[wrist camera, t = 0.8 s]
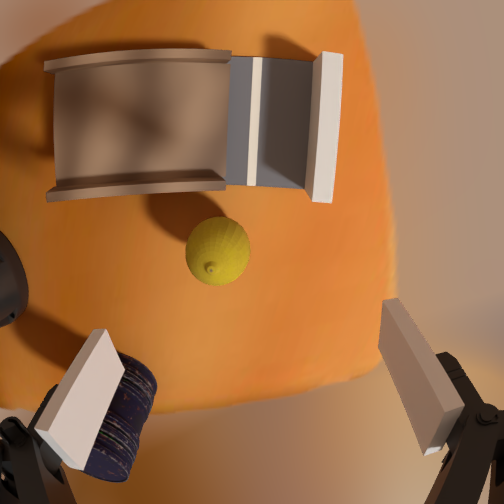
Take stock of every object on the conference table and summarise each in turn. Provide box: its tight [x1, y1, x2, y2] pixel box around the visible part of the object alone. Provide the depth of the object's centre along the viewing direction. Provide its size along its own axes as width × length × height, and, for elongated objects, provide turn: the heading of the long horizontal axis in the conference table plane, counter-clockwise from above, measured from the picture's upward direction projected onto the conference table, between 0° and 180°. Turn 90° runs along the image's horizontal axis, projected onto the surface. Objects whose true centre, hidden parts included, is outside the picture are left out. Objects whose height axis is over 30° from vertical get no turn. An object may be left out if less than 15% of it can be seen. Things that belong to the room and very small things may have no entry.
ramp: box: [44, 49, 232, 202], centre depth 23 cm, size 15×12×8 cm
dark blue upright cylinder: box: [78, 353, 157, 483], centre depth 33 cm, size 10×10×15 cm
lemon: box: [186, 217, 250, 286], centre depth 28 cm, size 6×6×8 cm
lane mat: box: [222, 57, 313, 189], centre depth 27 cm, size 10×12×1 cm
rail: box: [305, 51, 343, 203], centre depth 25 cm, size 2×12×5 cm, turn 177°
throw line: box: [247, 57, 262, 186], centre depth 27 cm, size 1×12×1 cm, turn 178°
